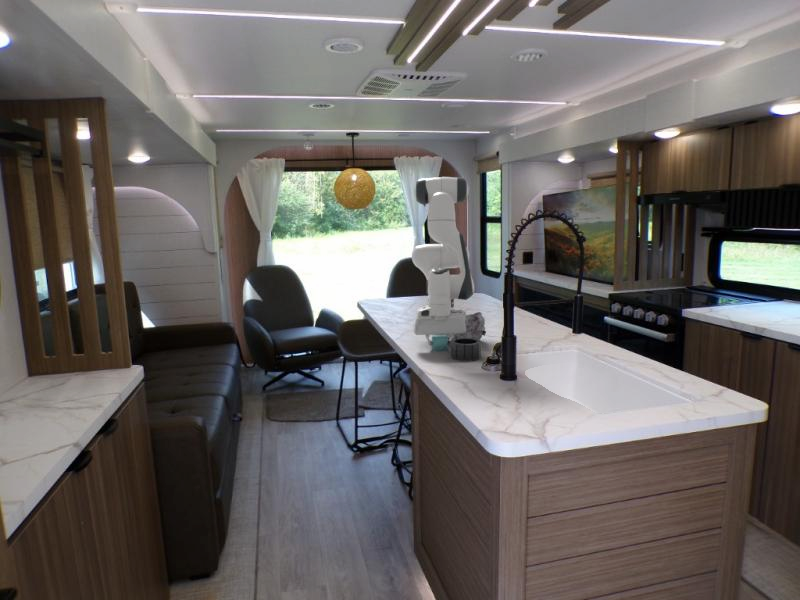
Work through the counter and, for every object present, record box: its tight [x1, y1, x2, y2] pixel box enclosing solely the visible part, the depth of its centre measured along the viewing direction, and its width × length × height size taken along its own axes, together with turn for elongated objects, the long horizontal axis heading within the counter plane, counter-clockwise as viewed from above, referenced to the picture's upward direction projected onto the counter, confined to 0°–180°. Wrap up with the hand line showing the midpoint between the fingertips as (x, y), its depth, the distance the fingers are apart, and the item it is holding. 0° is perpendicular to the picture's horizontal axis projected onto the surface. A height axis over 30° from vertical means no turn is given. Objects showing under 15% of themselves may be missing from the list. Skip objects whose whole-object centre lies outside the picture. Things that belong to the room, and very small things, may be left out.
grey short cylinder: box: [449, 338, 482, 362], centre depth 197 cm, size 11×11×6 cm
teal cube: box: [431, 334, 449, 352], centre depth 209 cm, size 6×6×5 cm
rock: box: [453, 311, 487, 341], centre depth 220 cm, size 22×10×15 cm, turn 6°
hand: (439, 345), depth 209 cm, fingers closed on teal cube, 6 cm apart
